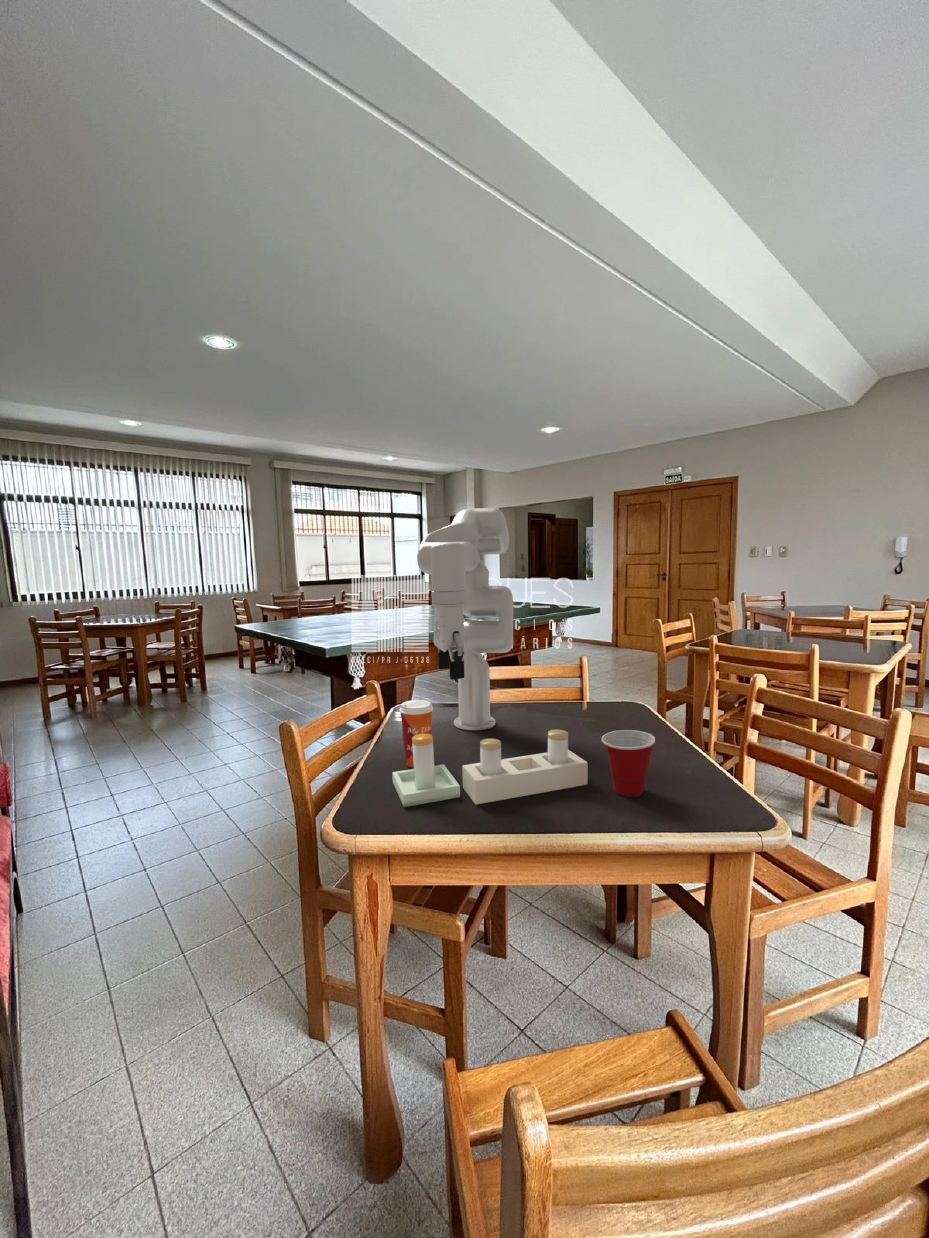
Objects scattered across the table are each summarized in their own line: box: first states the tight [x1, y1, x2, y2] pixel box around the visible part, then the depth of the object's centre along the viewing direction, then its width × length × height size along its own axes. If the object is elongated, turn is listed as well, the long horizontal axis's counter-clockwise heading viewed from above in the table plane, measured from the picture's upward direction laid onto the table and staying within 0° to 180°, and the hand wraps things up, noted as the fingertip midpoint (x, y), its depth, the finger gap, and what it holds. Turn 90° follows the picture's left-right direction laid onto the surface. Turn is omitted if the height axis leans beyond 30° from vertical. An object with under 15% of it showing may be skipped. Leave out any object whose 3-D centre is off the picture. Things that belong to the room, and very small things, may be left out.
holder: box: [462, 749, 589, 805], centre depth 110 cm, size 8×26×5 cm, turn 109°
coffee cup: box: [399, 699, 434, 769], centre depth 123 cm, size 8×8×15 cm
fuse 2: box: [547, 729, 569, 765], centre depth 112 cm, size 4×4×11 cm
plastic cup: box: [601, 729, 656, 798], centre depth 106 cm, size 11×11×12 cm
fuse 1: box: [479, 738, 502, 777], centre depth 107 cm, size 4×4×11 cm
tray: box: [391, 764, 461, 808], centre depth 109 cm, size 12×12×2 cm
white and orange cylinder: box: [412, 734, 435, 790], centre depth 108 cm, size 4×4×11 cm
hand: (450, 673), depth 114 cm, fingers open, 9 cm apart
